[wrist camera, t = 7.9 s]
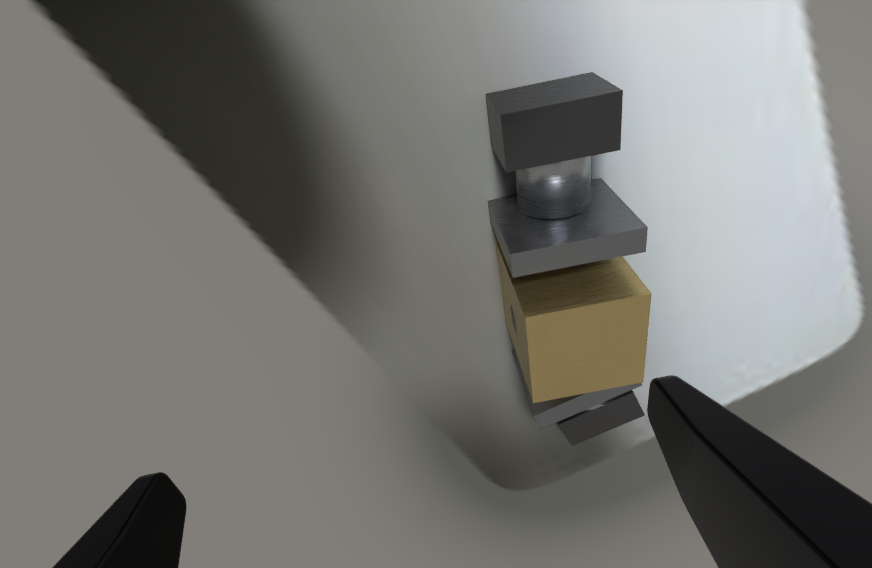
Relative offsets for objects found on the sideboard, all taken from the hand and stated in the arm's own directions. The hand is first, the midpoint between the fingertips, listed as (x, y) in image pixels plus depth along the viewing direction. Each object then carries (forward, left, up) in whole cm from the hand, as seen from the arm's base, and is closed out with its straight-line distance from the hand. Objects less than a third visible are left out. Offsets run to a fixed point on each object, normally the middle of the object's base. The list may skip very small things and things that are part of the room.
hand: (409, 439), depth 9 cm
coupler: (+6, +6, -13) cm, 16 cm away
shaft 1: (+12, +7, -13) cm, 19 cm away
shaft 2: (0, +6, -13) cm, 14 cm away
